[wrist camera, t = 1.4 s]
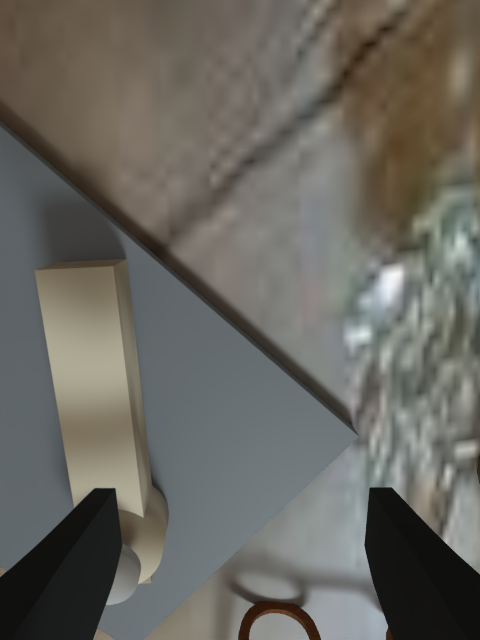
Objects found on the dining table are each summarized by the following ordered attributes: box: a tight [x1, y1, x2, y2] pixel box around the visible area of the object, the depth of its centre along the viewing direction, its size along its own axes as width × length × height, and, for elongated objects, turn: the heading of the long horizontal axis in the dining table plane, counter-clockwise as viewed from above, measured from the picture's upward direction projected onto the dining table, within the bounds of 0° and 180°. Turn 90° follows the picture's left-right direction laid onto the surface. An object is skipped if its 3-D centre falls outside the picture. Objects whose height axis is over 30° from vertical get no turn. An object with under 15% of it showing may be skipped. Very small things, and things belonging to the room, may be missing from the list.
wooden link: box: [35, 259, 169, 605], centre depth 19 cm, size 15×4×4 cm, turn 3°
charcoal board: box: [0, 120, 359, 640], centre depth 21 cm, size 18×26×1 cm
